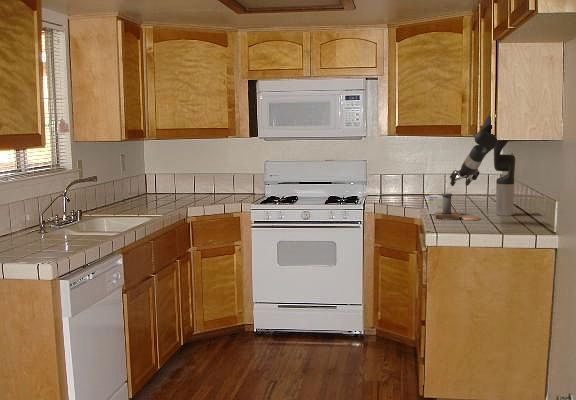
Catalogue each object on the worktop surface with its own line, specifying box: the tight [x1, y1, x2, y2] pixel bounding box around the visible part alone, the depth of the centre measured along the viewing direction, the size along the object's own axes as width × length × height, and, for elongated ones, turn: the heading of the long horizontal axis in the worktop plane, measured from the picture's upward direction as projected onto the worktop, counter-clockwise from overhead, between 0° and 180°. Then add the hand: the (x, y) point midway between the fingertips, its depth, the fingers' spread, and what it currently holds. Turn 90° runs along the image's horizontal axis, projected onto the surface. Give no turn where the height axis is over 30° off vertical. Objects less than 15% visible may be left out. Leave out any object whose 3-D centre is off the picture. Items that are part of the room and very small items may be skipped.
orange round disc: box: [461, 216, 480, 222], centre depth 335 cm, size 9×9×1 cm
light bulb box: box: [428, 194, 443, 215], centre depth 356 cm, size 11×7×11 cm, turn 59°
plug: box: [441, 192, 453, 214], centre depth 340 cm, size 5×5×13 cm
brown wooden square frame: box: [434, 211, 460, 221], centre depth 340 cm, size 12×12×2 cm
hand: (459, 184), depth 327 cm, fingers open, 8 cm apart
